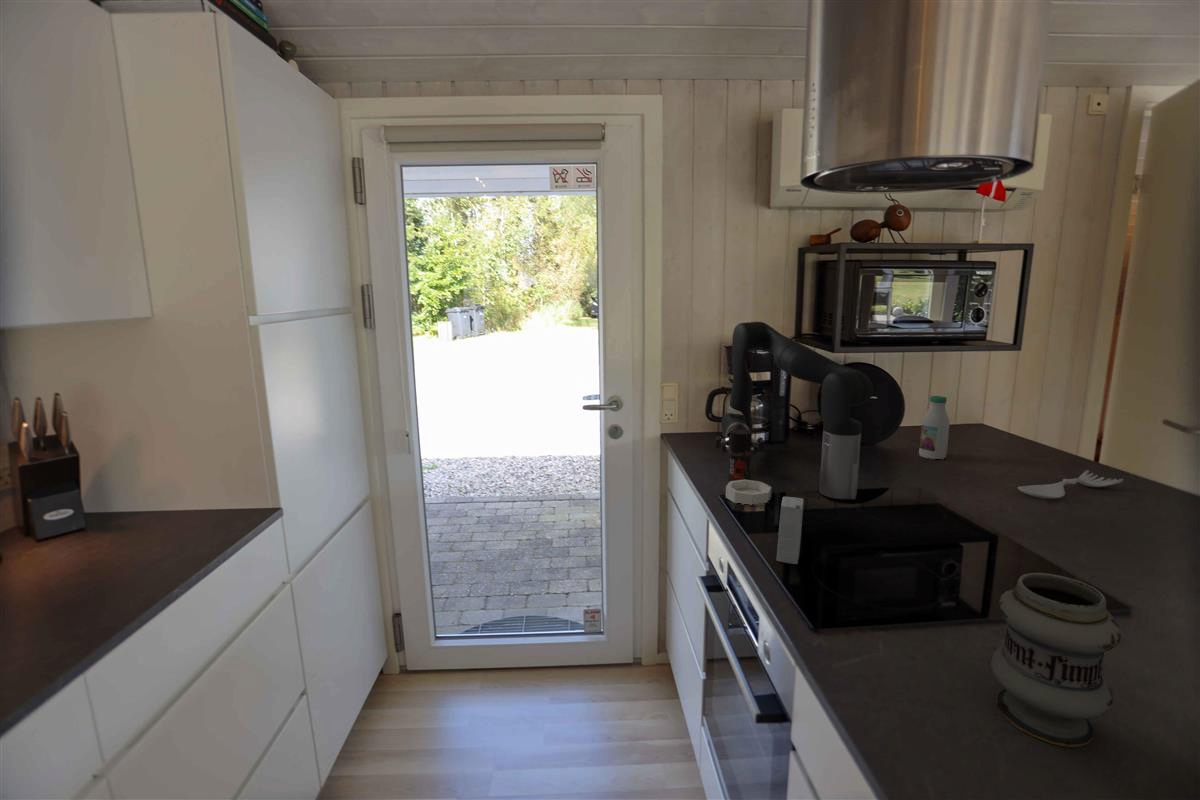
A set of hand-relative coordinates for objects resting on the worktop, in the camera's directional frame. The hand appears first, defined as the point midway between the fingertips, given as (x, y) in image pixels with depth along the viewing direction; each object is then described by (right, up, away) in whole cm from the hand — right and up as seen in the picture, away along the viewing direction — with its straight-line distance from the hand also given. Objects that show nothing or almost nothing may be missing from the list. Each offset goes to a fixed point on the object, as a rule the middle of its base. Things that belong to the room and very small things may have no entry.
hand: (740, 449), depth 163 cm
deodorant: (-1, -10, -1) cm, 10 cm away
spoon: (+86, -11, -10) cm, 87 cm away
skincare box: (-2, -18, -47) cm, 50 cm away
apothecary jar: (+16, -27, -91) cm, 96 cm away
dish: (-1, -12, -13) cm, 17 cm away
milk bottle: (+68, -5, +22) cm, 72 cm away
